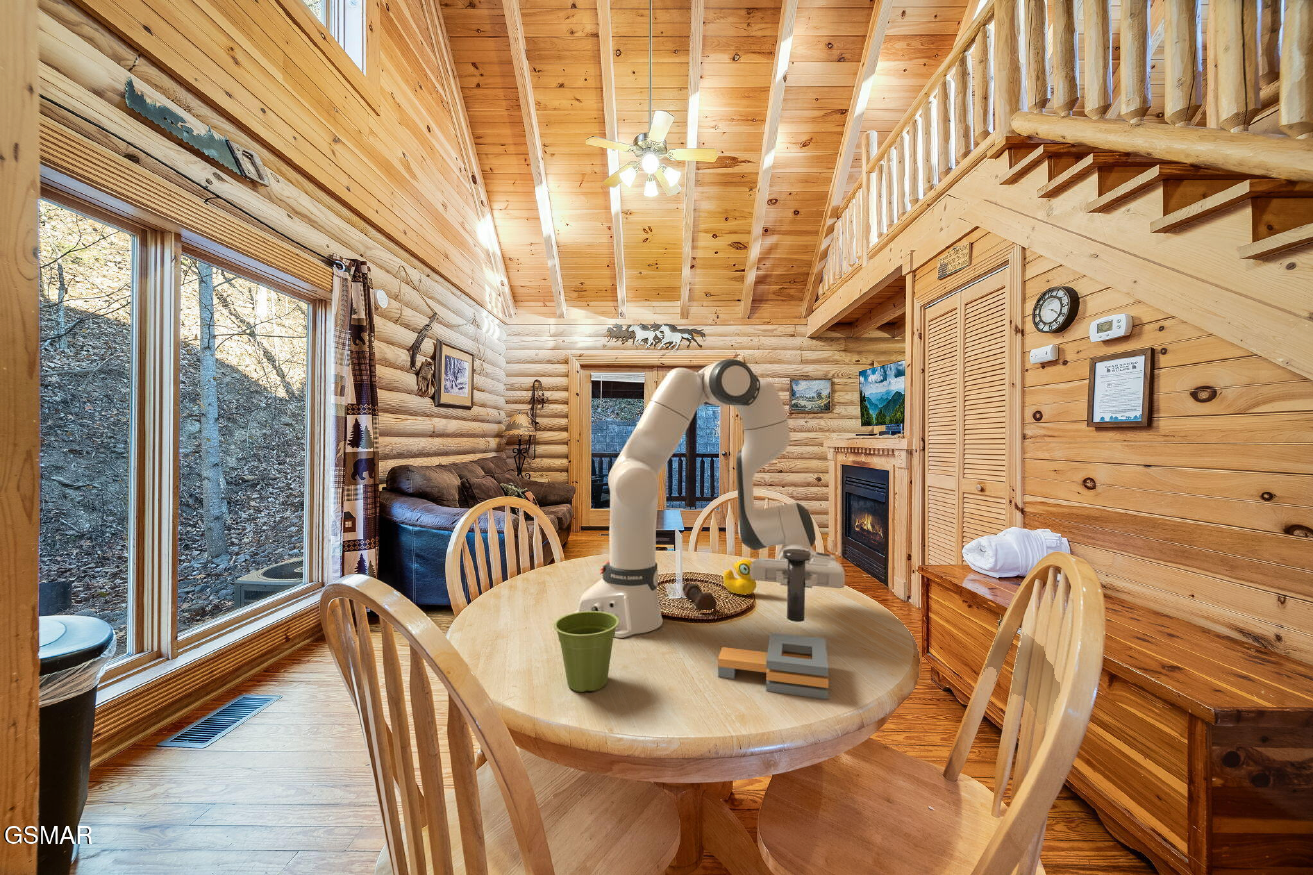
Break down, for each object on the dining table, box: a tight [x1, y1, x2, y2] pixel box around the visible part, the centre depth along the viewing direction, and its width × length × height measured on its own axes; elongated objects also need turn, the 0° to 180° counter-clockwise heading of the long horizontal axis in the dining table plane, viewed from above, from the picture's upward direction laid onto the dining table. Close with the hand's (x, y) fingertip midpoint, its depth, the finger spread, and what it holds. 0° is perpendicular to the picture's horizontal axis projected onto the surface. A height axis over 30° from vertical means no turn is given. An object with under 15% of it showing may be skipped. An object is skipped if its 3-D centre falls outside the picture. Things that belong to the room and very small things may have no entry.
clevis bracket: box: [717, 632, 829, 701], centre depth 94 cm, size 19×12×6 cm, turn 74°
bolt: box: [682, 582, 718, 611], centre depth 132 cm, size 6×5×15 cm
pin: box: [783, 549, 811, 623], centre depth 106 cm, size 6×6×14 cm
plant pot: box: [553, 611, 619, 693], centre depth 92 cm, size 12×12×11 cm
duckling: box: [722, 558, 757, 595], centre depth 139 cm, size 11×5×10 cm, turn 61°
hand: (796, 582), depth 105 cm, fingers closed on pin, 4 cm apart
